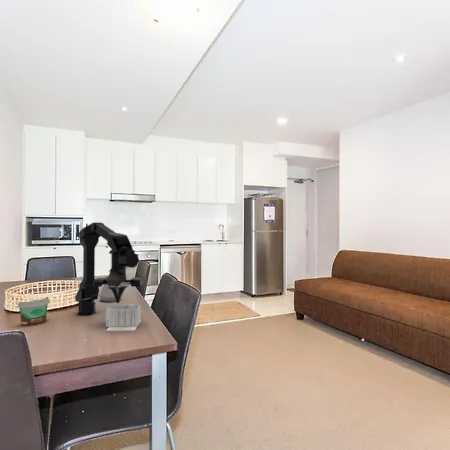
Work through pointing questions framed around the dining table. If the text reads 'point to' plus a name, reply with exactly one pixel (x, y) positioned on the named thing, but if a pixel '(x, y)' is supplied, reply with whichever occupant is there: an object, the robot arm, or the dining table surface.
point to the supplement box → (122, 315)
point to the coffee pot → (107, 293)
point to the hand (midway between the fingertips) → (118, 302)
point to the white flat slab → (123, 328)
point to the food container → (33, 312)
